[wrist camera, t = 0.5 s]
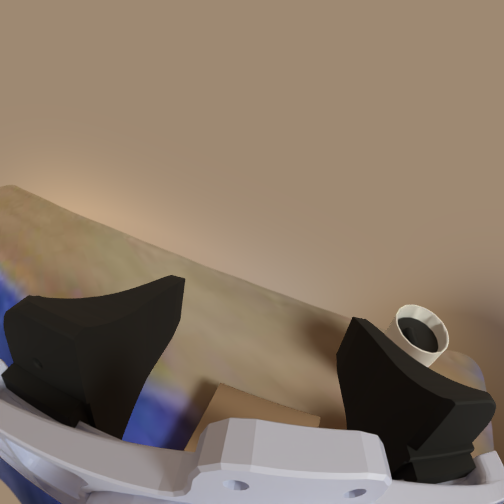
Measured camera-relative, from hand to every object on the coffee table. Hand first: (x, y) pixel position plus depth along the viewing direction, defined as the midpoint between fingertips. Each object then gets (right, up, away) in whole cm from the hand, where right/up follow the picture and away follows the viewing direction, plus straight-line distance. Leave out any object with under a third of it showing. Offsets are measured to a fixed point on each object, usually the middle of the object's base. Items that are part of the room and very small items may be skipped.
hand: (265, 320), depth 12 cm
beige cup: (+15, -13, +18) cm, 27 cm away
